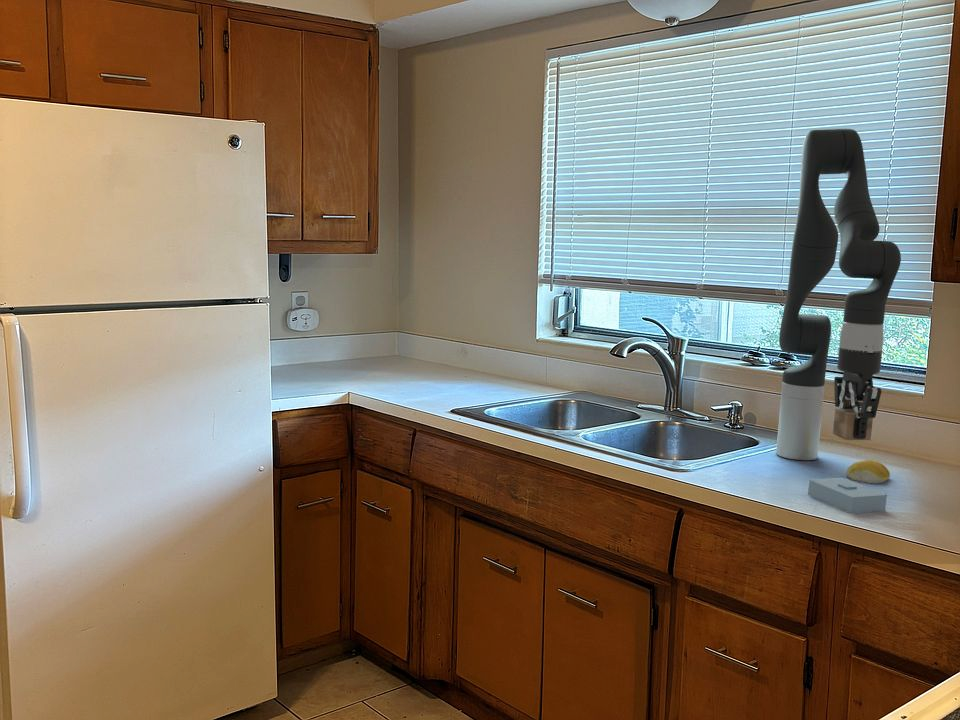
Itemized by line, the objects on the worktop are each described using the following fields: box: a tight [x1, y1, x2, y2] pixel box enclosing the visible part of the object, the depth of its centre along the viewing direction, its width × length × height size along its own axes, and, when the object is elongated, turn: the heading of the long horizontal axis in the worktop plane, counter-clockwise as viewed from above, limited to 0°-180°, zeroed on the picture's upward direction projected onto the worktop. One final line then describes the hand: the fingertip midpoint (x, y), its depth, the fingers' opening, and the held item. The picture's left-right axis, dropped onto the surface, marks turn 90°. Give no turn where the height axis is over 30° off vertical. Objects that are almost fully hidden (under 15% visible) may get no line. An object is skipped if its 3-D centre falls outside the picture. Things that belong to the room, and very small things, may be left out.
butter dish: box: [807, 477, 888, 514], centre depth 172 cm, size 12×8×4 cm, turn 19°
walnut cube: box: [832, 408, 874, 441], centre depth 170 cm, size 5×5×5 cm
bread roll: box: [845, 459, 891, 484], centre depth 191 cm, size 8×9×4 cm
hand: (852, 434), depth 171 cm, fingers closed on walnut cube, 5 cm apart
